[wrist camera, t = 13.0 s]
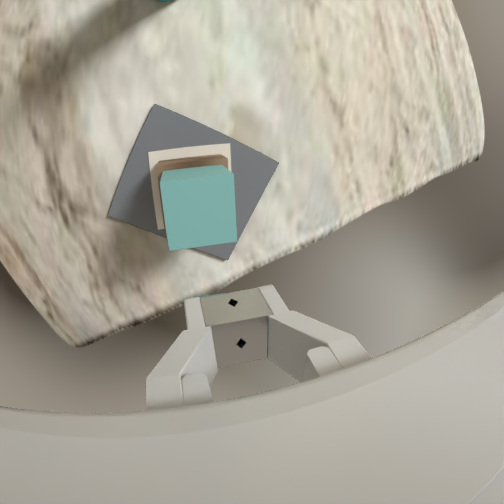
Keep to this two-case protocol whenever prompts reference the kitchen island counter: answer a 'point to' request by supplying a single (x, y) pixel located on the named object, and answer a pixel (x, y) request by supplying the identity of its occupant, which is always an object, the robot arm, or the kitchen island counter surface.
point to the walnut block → (188, 163)
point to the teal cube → (199, 206)
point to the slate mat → (180, 146)
